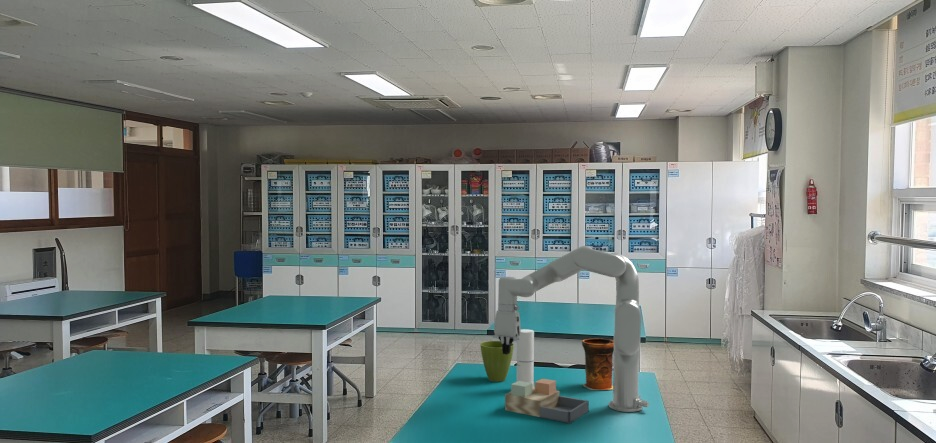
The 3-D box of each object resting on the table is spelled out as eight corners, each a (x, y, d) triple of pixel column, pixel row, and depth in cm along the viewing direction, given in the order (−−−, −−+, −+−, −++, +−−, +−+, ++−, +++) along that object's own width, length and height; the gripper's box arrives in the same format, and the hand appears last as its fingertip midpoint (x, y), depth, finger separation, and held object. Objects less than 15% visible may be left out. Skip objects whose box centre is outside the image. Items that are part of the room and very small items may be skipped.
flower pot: (475, 376, 303) (475, 341, 302) (506, 374, 307) (506, 339, 307) (486, 385, 289) (486, 348, 288) (518, 382, 293) (518, 346, 293)
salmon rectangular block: (555, 391, 259) (555, 380, 259) (548, 394, 254) (549, 384, 254) (541, 388, 262) (542, 378, 262) (534, 392, 257) (535, 382, 257)
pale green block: (532, 393, 255) (532, 383, 255) (525, 397, 250) (525, 386, 250) (518, 391, 259) (518, 380, 259) (511, 394, 254) (511, 384, 254)
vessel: (590, 392, 278) (590, 344, 278) (576, 384, 292) (576, 338, 292) (621, 390, 282) (622, 342, 282) (606, 382, 296) (606, 337, 296)
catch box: (588, 411, 253) (588, 400, 253) (569, 423, 239) (569, 412, 239) (559, 405, 260) (559, 395, 260) (539, 417, 245) (539, 406, 245)
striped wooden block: (559, 406, 259) (559, 390, 259) (540, 417, 246) (540, 401, 246) (525, 399, 267) (525, 385, 267) (505, 410, 254) (505, 394, 254)
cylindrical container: (527, 393, 277) (528, 333, 276) (513, 390, 282) (513, 331, 281) (536, 389, 283) (537, 330, 282) (522, 386, 287) (522, 328, 286)
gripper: (528, 308, 265) (527, 354, 266) (496, 305, 274) (495, 349, 274) (519, 311, 259) (518, 358, 260) (486, 307, 267) (485, 352, 268)
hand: (506, 353), depth 267 cm, fingers closed
